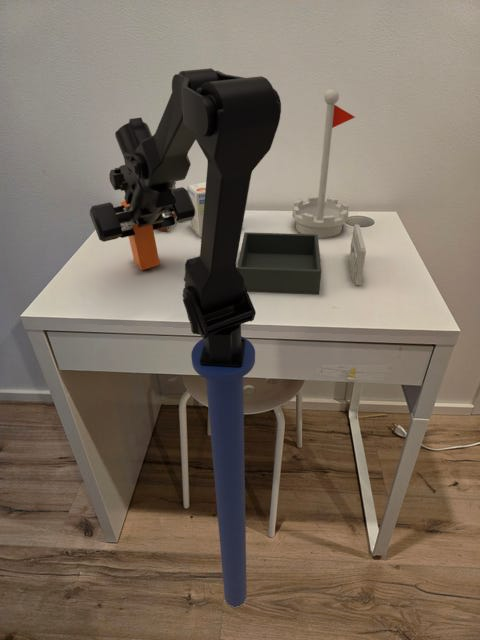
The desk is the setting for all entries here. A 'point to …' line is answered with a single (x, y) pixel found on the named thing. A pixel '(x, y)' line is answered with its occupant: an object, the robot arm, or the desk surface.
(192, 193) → the light bulb box
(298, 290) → the open storage bin
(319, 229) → the flag stand
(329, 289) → the desk surface
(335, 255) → the desk surface
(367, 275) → the desk surface
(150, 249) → the block
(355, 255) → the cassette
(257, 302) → the desk surface
